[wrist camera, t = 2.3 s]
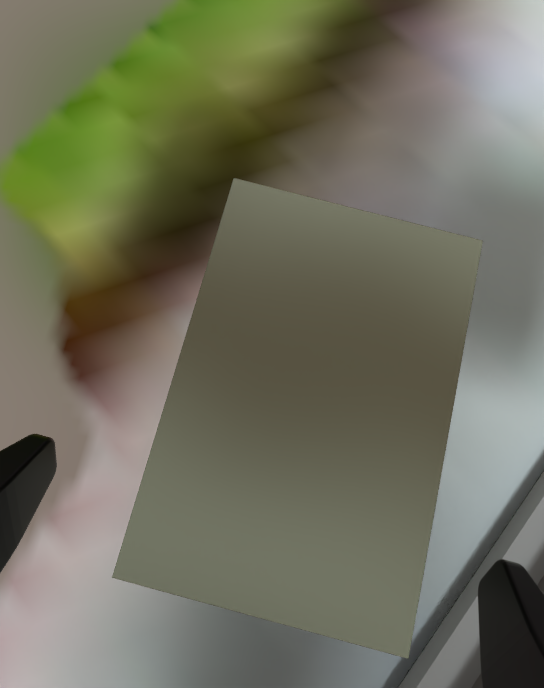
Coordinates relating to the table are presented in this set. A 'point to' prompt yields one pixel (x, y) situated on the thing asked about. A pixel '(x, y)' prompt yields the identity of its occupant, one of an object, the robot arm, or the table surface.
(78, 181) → the table surface
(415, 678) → the door track
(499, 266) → the table surface
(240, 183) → the grey green block
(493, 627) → the robot arm
